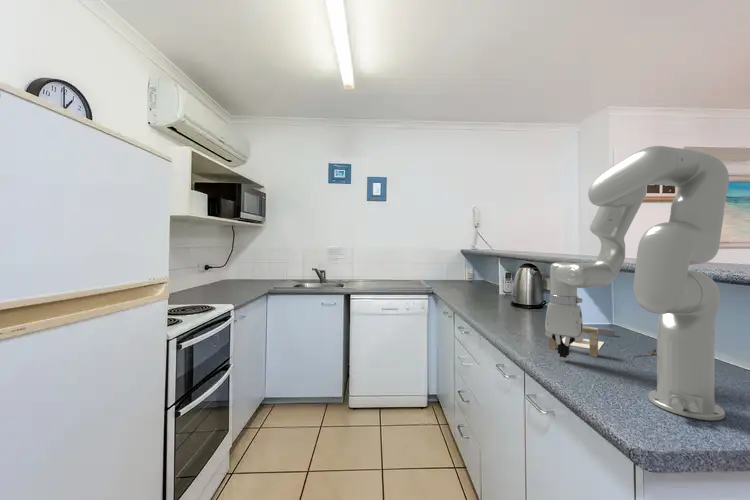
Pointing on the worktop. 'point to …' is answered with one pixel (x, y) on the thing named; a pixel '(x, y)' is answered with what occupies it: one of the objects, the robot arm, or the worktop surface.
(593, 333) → the bridge
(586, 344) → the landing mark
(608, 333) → the wall
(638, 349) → the worktop surface
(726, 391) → the worktop surface
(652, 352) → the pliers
